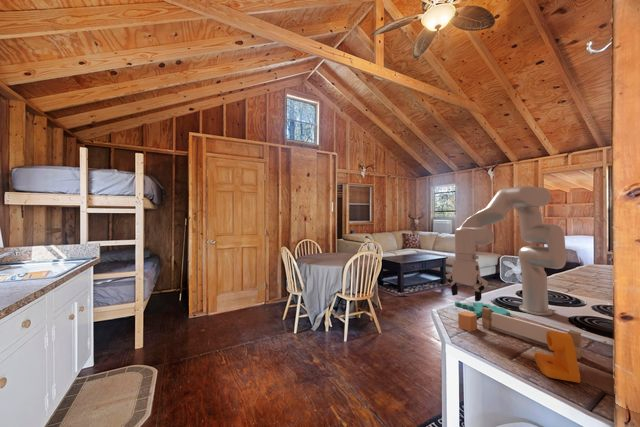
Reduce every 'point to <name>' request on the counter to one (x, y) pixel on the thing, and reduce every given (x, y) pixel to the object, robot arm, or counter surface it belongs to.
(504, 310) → the alien figure
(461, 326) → the block
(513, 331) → the gate door
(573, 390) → the counter surface
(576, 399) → the counter surface
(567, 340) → the bracket
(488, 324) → the gate frame
